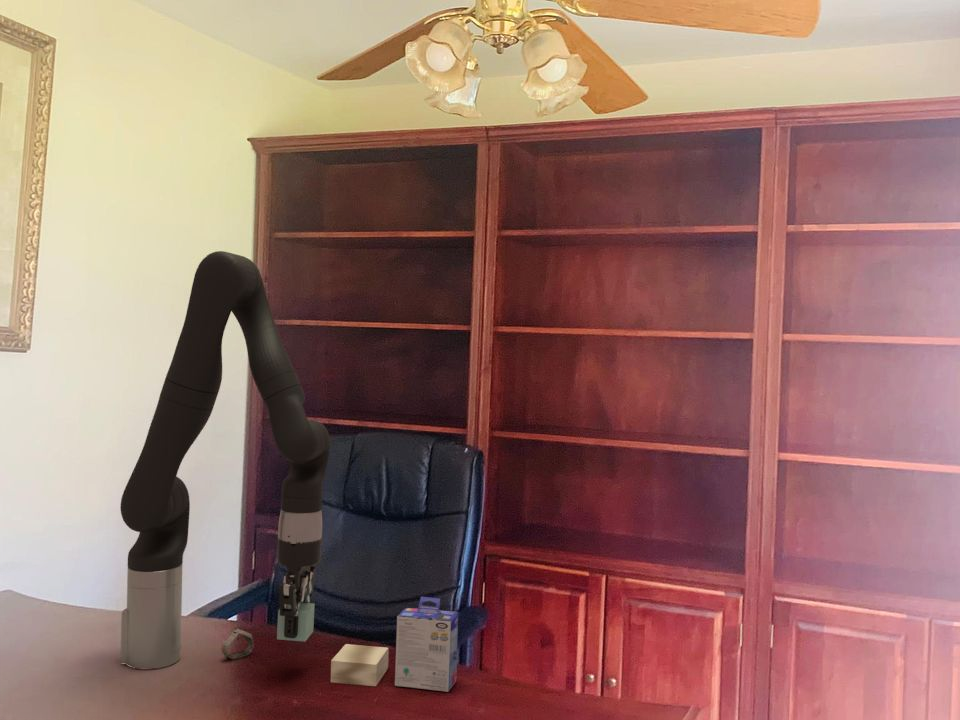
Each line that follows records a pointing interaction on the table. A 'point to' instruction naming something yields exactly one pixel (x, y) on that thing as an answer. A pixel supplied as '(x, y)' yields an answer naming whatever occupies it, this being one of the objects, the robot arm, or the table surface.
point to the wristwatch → (232, 638)
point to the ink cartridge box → (426, 647)
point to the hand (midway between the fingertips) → (295, 631)
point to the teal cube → (299, 623)
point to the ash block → (359, 665)
